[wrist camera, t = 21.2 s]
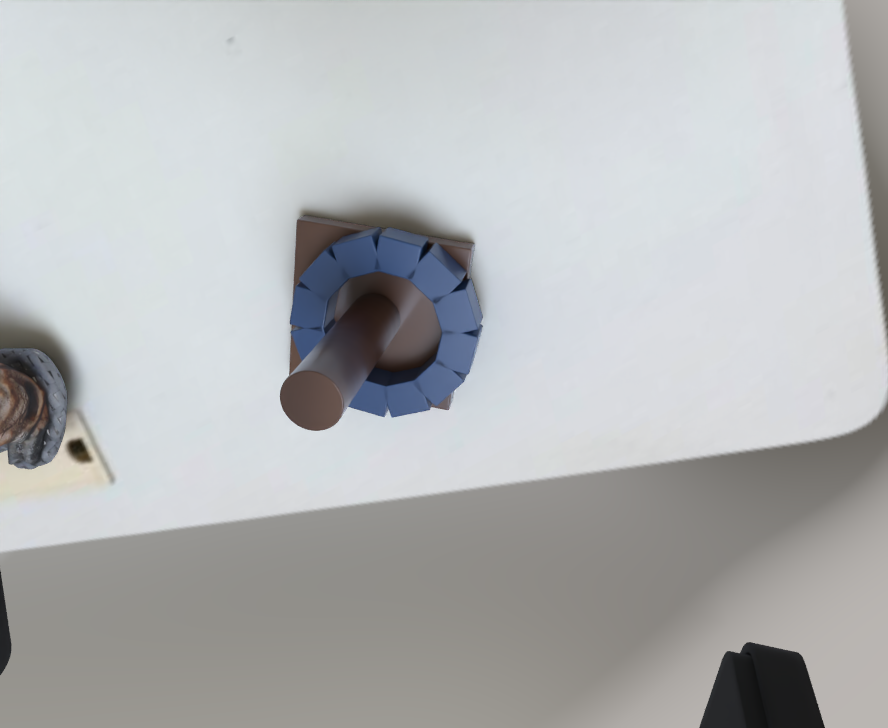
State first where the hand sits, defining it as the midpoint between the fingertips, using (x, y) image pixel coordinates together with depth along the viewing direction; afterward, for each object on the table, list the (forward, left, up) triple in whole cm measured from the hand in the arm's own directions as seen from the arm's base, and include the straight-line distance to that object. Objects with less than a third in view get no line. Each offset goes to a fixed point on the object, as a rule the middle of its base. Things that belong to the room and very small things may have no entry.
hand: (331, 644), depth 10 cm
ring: (+5, +6, -26) cm, 27 cm away
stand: (+6, +6, -27) cm, 29 cm away
